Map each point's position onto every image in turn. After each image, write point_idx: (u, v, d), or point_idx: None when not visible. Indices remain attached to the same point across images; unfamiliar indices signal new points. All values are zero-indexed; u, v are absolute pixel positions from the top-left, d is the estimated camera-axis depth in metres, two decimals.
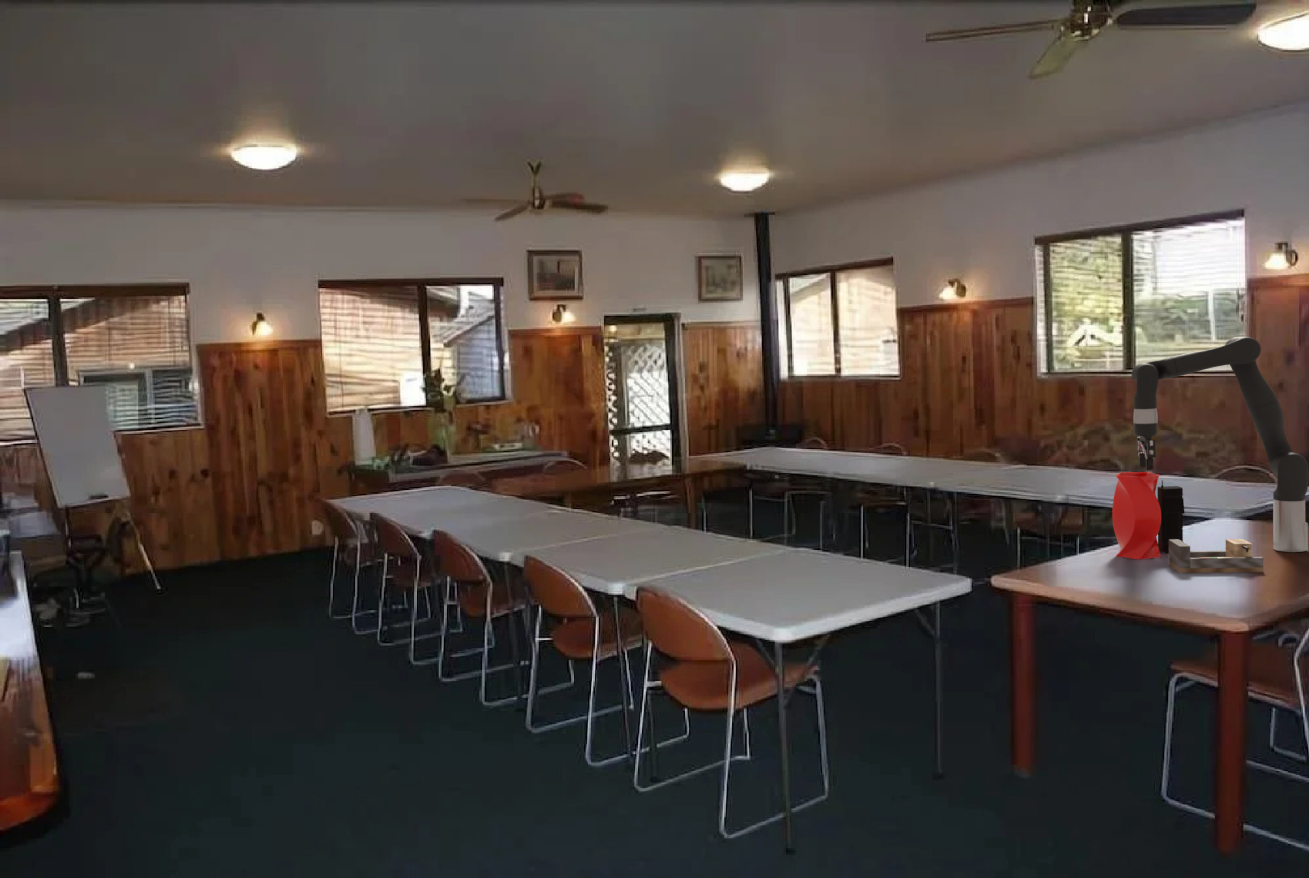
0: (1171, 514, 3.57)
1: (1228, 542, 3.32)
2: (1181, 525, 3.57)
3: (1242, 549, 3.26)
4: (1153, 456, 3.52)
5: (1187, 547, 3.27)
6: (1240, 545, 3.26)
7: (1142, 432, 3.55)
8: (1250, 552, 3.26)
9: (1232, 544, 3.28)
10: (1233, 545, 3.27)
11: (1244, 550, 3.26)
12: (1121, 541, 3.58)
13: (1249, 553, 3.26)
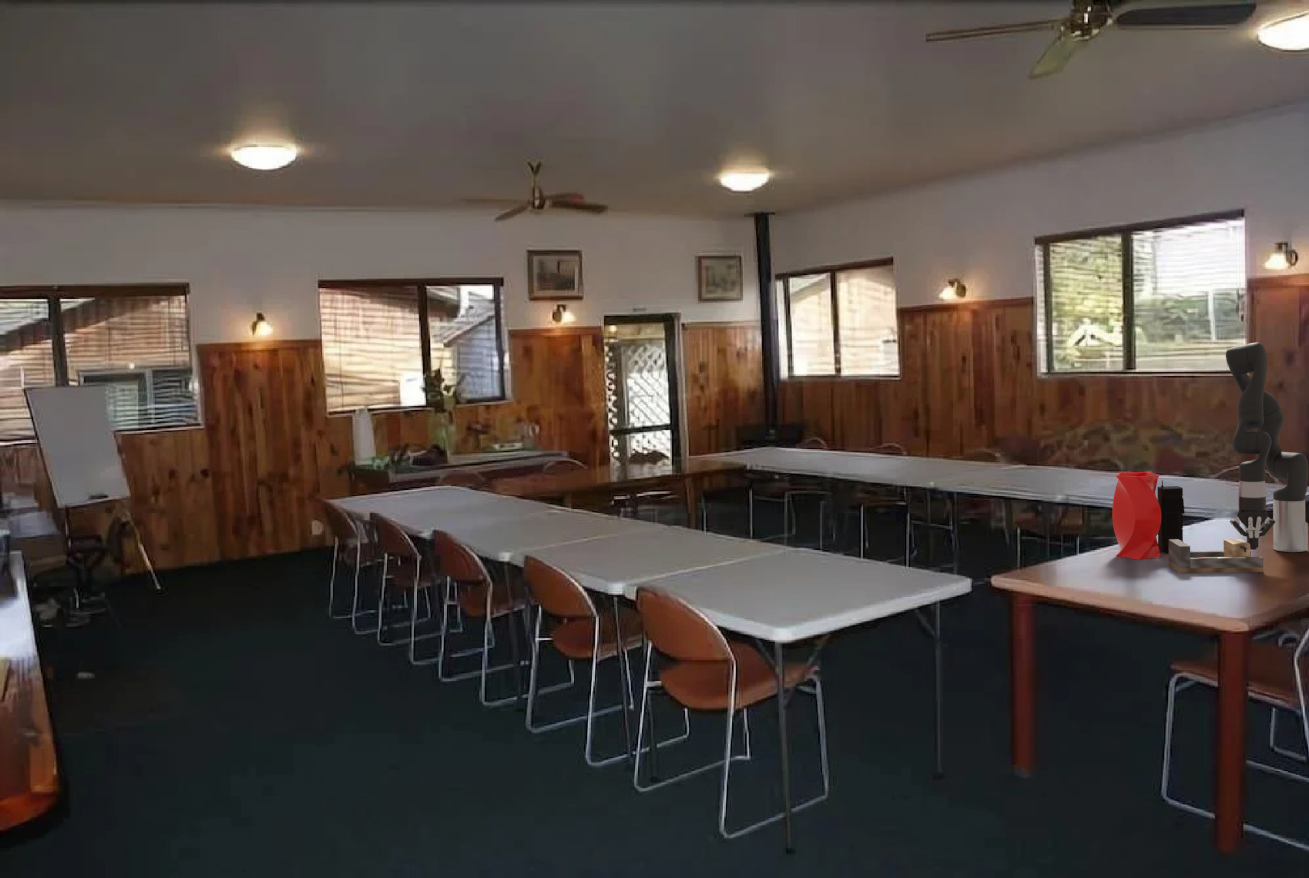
0: (1171, 514, 3.57)
1: (1226, 542, 3.32)
2: (1181, 525, 3.57)
3: (1240, 549, 3.26)
4: None
5: (1187, 547, 3.27)
6: (1238, 545, 3.26)
7: (1265, 505, 3.26)
8: (1248, 552, 3.26)
9: (1230, 544, 3.28)
10: (1231, 545, 3.28)
11: (1242, 550, 3.26)
12: (1121, 541, 3.58)
13: (1247, 553, 3.26)
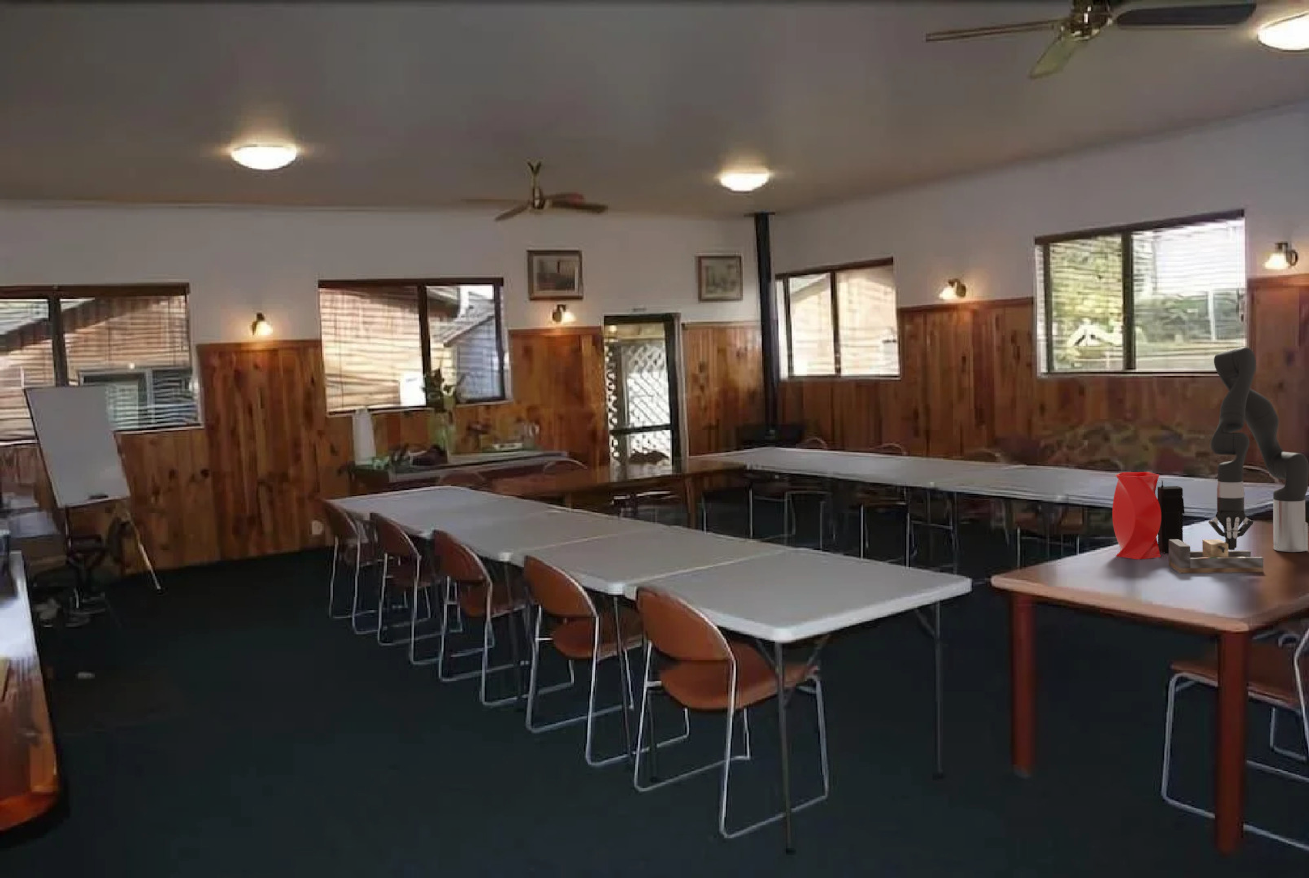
0: (1171, 514, 3.57)
1: (1205, 542, 3.33)
2: (1181, 525, 3.57)
3: (1218, 549, 3.27)
4: None
5: (1187, 547, 3.27)
6: (1216, 545, 3.27)
7: None
8: (1226, 552, 3.27)
9: (1209, 545, 3.29)
10: (1209, 545, 3.29)
11: (1220, 550, 3.27)
12: (1121, 541, 3.58)
13: (1225, 553, 3.27)
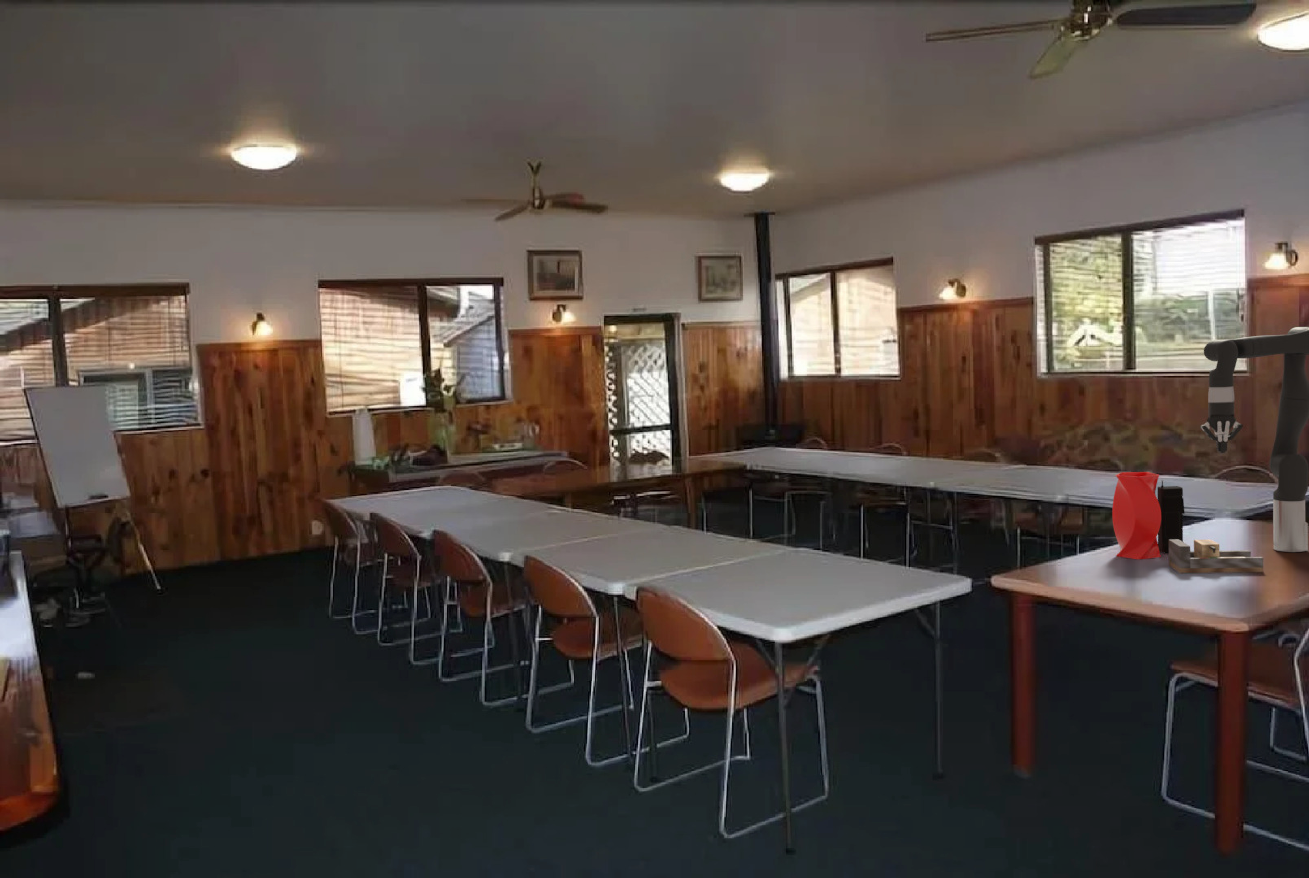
0: (1171, 514, 3.57)
1: (1196, 543, 3.34)
2: (1181, 525, 3.57)
3: (1209, 549, 3.28)
4: None
5: (1187, 547, 3.27)
6: (1207, 546, 3.28)
7: None
8: (1217, 552, 3.27)
9: (1200, 545, 3.30)
10: (1201, 546, 3.29)
11: (1211, 550, 3.28)
12: (1121, 541, 3.58)
13: (1216, 553, 3.28)
